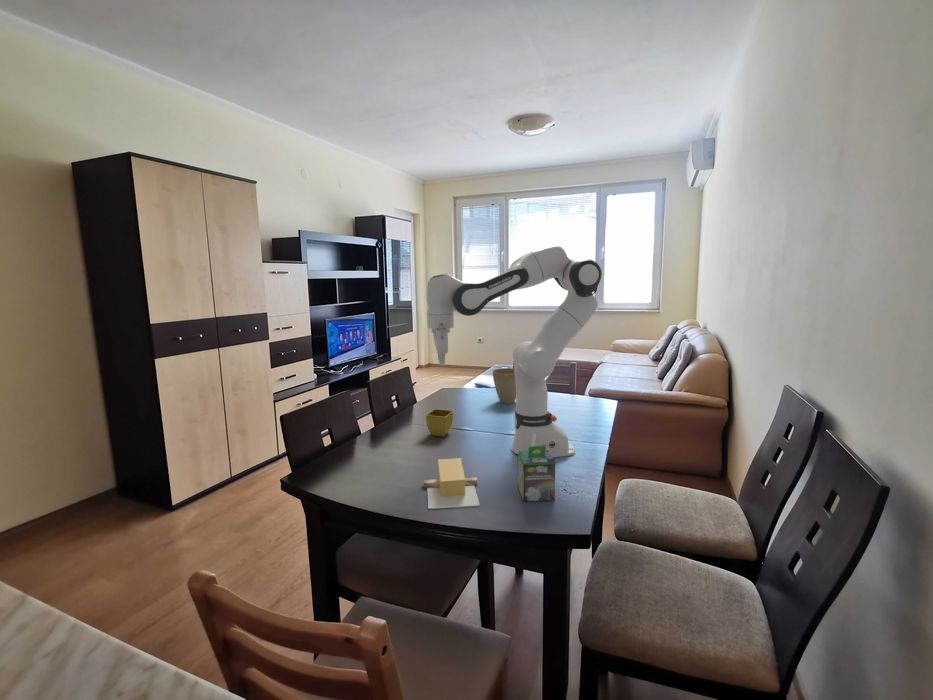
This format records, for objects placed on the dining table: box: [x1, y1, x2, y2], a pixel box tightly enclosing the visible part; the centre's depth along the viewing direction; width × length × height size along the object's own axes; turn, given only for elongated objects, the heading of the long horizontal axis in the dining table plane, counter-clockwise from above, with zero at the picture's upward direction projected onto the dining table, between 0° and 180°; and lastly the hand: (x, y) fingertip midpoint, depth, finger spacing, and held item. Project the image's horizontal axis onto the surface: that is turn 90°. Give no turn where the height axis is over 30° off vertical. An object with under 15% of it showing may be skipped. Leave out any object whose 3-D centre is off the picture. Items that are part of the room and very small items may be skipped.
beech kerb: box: [423, 476, 478, 489], centre depth 134 cm, size 16×2×2 cm, turn 96°
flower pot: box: [425, 408, 454, 437], centre depth 178 cm, size 9×9×9 cm
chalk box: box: [517, 446, 556, 502], centre depth 127 cm, size 9×9×15 cm
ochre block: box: [437, 457, 466, 496], centre depth 131 cm, size 7×5×11 cm
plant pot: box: [491, 367, 516, 405], centre depth 224 cm, size 15×15×16 cm
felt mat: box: [426, 485, 481, 510], centre depth 126 cm, size 14×12×1 cm
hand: (441, 362), depth 153 cm, fingers open, 8 cm apart
